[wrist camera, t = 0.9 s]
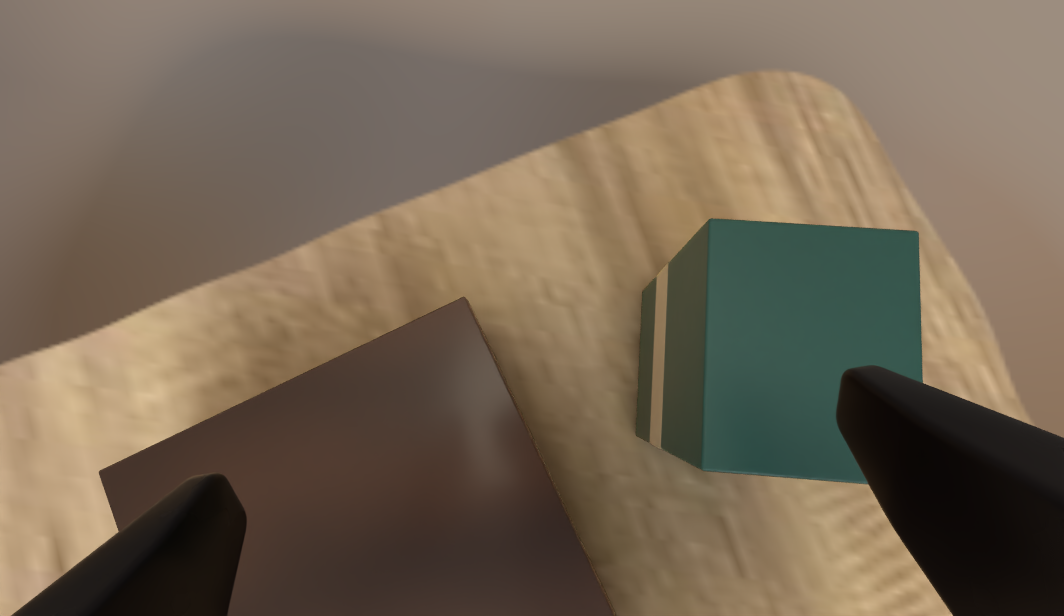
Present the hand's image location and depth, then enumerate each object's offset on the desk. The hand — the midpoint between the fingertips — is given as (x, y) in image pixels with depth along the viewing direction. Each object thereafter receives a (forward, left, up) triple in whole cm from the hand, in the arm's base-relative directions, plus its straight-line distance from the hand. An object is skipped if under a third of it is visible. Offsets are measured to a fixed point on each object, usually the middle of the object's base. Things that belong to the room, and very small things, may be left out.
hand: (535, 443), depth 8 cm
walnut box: (0, +8, -15) cm, 17 cm away
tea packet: (-4, -6, -15) cm, 16 cm away
